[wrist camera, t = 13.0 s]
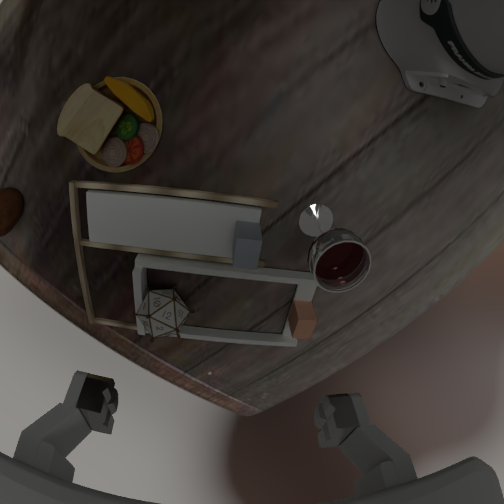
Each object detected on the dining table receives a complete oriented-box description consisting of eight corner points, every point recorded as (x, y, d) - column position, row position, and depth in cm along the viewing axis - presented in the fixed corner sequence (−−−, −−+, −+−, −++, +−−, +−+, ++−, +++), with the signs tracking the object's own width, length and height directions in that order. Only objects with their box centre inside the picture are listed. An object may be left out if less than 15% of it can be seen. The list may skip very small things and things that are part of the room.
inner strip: (261, 207, 40) (265, 227, 34) (251, 256, 43) (254, 281, 38) (89, 189, 36) (69, 206, 31) (92, 238, 40) (75, 259, 35)
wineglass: (344, 230, 42) (377, 277, 32) (302, 249, 43) (323, 302, 33) (330, 190, 39) (364, 229, 29) (284, 210, 40) (303, 256, 30)
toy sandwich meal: (122, 188, 37) (110, 201, 33) (58, 127, 32) (39, 133, 28) (184, 120, 34) (178, 124, 29) (113, 54, 28) (98, 51, 24)
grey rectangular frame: (319, 273, 46) (328, 293, 41) (296, 338, 53) (301, 359, 48) (138, 253, 42) (129, 272, 38) (142, 324, 49) (136, 344, 45)
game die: (170, 292, 51) (148, 345, 46) (139, 267, 44) (113, 325, 40) (212, 300, 46) (189, 359, 42) (182, 273, 40) (153, 341, 35)
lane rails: (277, 200, 39) (278, 204, 38) (246, 339, 52) (246, 344, 51) (72, 180, 36) (69, 182, 35) (91, 319, 48) (89, 323, 47)
